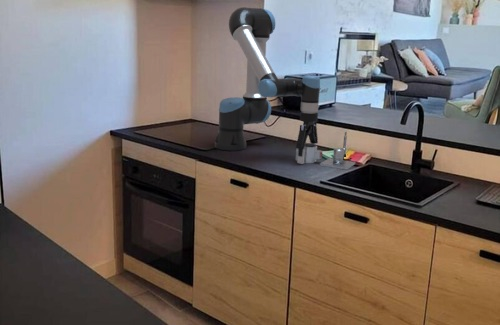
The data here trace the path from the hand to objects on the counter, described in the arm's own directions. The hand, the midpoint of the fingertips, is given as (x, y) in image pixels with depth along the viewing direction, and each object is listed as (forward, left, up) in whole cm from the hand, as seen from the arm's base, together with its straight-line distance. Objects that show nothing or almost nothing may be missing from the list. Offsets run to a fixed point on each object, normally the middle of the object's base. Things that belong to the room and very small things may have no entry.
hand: (306, 160), depth 230 cm
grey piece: (+1, 0, 0) cm, 1 cm away
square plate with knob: (+14, +2, 0) cm, 14 cm away
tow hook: (+12, +16, -1) cm, 20 cm away
